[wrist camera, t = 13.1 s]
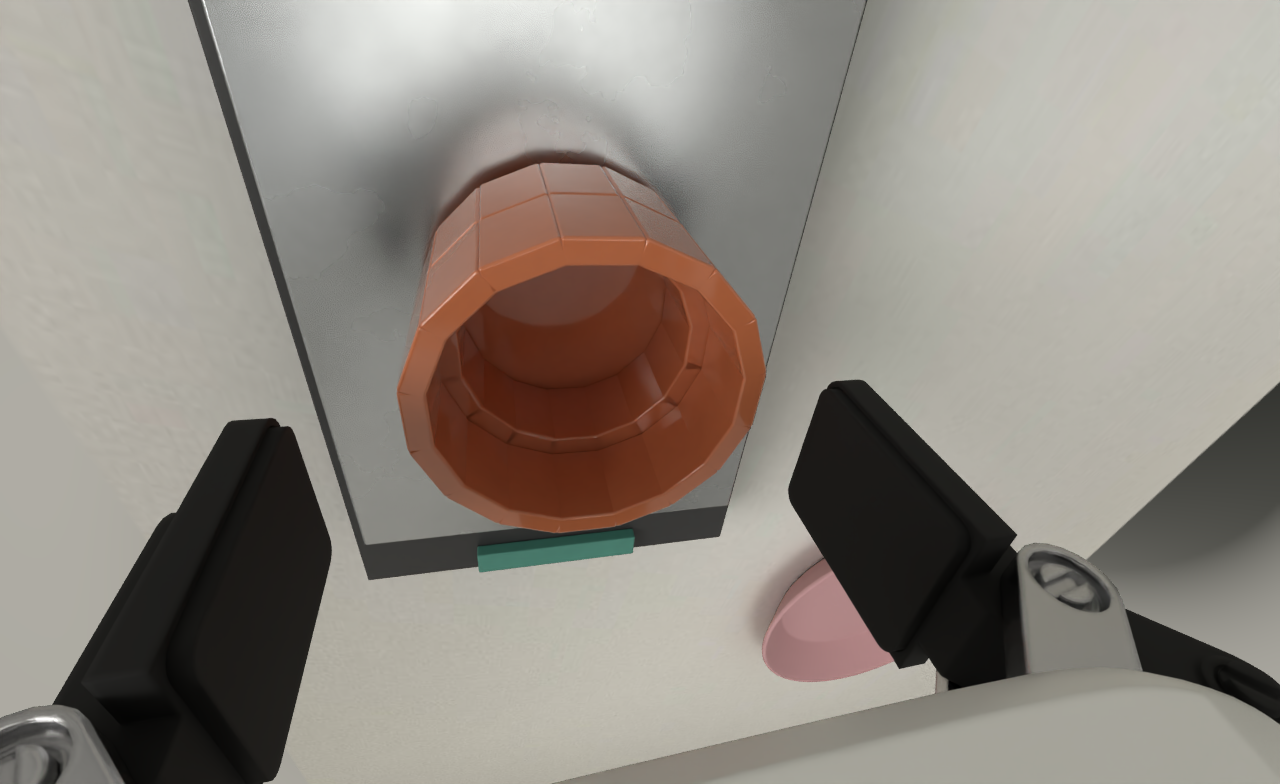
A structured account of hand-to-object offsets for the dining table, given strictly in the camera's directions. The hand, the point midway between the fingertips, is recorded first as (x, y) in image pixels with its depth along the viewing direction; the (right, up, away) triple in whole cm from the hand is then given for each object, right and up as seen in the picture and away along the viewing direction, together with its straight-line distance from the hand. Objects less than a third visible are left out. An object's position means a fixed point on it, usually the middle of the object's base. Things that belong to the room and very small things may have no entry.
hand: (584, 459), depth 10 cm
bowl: (-1, +4, +4) cm, 6 cm away
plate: (+15, -11, +24) cm, 30 cm away
